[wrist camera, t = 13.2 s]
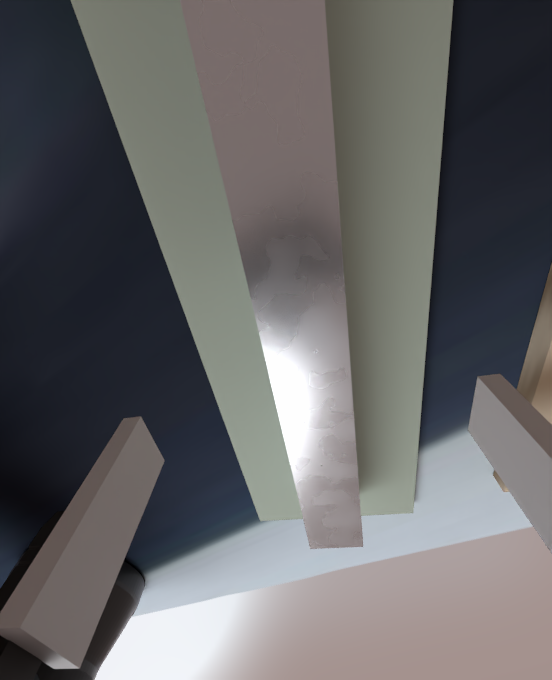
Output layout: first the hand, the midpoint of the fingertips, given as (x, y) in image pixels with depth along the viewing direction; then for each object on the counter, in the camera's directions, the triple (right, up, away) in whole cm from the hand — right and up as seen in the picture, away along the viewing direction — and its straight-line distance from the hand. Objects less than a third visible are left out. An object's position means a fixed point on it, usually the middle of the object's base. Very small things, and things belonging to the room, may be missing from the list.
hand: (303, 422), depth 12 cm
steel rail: (+1, +4, +6) cm, 7 cm away
